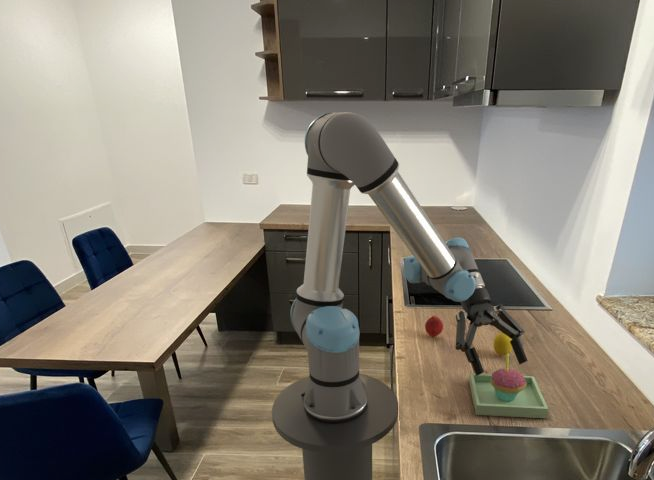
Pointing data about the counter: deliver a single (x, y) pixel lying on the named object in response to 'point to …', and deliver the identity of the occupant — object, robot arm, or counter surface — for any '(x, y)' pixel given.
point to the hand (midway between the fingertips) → (502, 368)
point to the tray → (522, 406)
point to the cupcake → (507, 383)
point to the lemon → (502, 344)
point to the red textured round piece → (434, 326)
